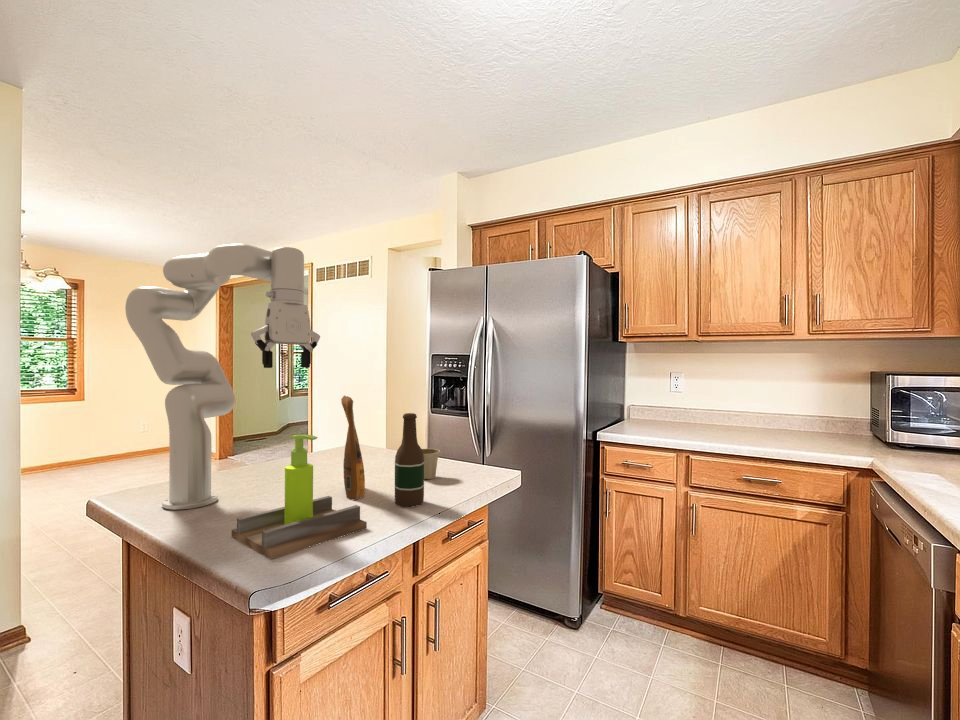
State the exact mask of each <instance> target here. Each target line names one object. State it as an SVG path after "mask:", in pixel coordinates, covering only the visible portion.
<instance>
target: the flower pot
mask: <svg viewBox="0 0 960 720" xmlns="http://www.w3.org/2000/svg"><path fill="white" fill-rule="evenodd" d="M421 449H422V452H423V455H424V481H425V480H426V479H427V480H433V479H435V478H436V477H437V475H436V474H437V466H438V459H439V456H440V453H441V450H440V449H436V448H421Z"/></svg>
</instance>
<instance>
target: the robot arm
mask: <svg viewBox="0 0 960 720" xmlns="http://www.w3.org/2000/svg"><path fill="white" fill-rule="evenodd" d="M162 273H163V277H164V278H165V280H166V281H167V283H170V284H171V285H173V286H175V287H178V288H180V289H184V290H178V289H173V288H166V287H160V286H150V285H149V286H147V285H146V286H138V287H137V288H134V289H133V290H131V291H130V292H129V293H128V295H127V298H126V300H125V307H124V308H125V317H126V320H127V322H128V325H129V326H130V329H131V330H132V331H133V333H134V334H135V336H136V337H137V338H138V340H139V341H140V343H141V345H142V347H143V348H144V351H145V353H146V355H147V357H148V359H149V362H150V364H151V365H152V367H153V369H154V372H155V374H156V375H157V377H158V379H159V380H160V381H161V382H162V383H164V384H166V385H170V386H175V387H173V388H171V389H170V390H169V391H168V392H167V394H166V395H165V399H164V406H165V413H166V416H167V424H168V433H169V438H168V439H169V441H168V442H169V464H168V465H169V470H168V471H169V479H168V481H169V483H168V485H169V489H168V492H169V495H168V498H165V499H164V500H163V501H162V502H161V507H162V508H163V509H166V510H172V511H173V510H176V511H177V510H189V509H197V508H201V507H206V506H208V505H212V504H214V503H215V502H217V501H218V499H219V498H218V497H219V496H218V494H217V493H215V492H212V432H211V430H210V428H209V425H208V424H207V422H206V419H207V418H216V417H220V416H221V417H222V416H225V415H228V414H229V413H230V412H232V410H233V409H234V407H235V405H236V404H235V403H236V396H235V392H234V390H233V387H232V386H231V383H230V381H229V379H228V378H227V375H226V374H225V372H224V370H223V368H222V366H221V364H220V362H219V361H218V359H217V358H216V357H215V356H214V355H213V354H211V353H210V352H208V351H204V350H192V349H191V350H190V349H187V348H186V347H185V346H184V344H183V343H182V341H181V338H180V336H179V334H178V333H177V332H176V331H175V330H174V329H173V327H172V326H170V325H169V324H168V323H166V322H165V321H164V320H172V321H185V322H187V321H192V320H193V319H195V318H196V317H198V316H199V315H200V314H201V313H202V312H203V310H204V309H205V308H206V307H207V305H208V304H209V303H210V302H211V300H212V299H213V298H214V296H216V294H217V293H218V291H219V290H220V288H221V286H224V285H226V283H228V281H230V280H231V279H230V278H231V276H242V277H243V276H244V277H248V278H252V279H257V280H260V281H261V280H262V281H266V282H270V291H266V292H265V297H266V298H269V299H270V302H268V304H267V308H266V313H265V319H264V326H262V327H260V328H257V329H255V330H254V331H251V332H250V335H251V338H252V339H253V341H254V344H255V345H256V346H257V347H258V348H259V350H260V351H261V352H262V353H261V357H262V358H261V360H262V365H263V369H272V368H273V367H274V366H273V363H274V362H273V357H274V355H273V354H274V353H273V351H272V348H273V347H274V346H275V345H276V344H277V345H298V347H300V348H301V350H302V351H301V353H300V367H301V368H305V369H306V368H307V369H309V368H310V366H311V362H312V359H311V356H312V352H314V351H313V350H314V349H315V348H317V346H318V343H319V341H320V339H321V335H320V334H318V333H317V332H315V331H314V330H312V327H311V320H310V319H311V318H310V312H309V307H308V305H307V304H305V292H304V291H305V255H304V253H303V251H302V250H301V249H299V248H296V247H289V246H279V247H275V248H273V249H272V251H269V250H267V249H263V248H261V247H257V246H253V245H250V244H246V243H231V244H222V245H217V246H215V247H213V248H212V249H211V250H210V251H209V252H205V253H197V254H189V255H179V256H176V257H172V258H170V259H168V260H167V261H166V262H165V263H164V265H163V268H162ZM263 334H264V340H265V341H264V340H262V339H261V336H262V335H263Z"/></svg>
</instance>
